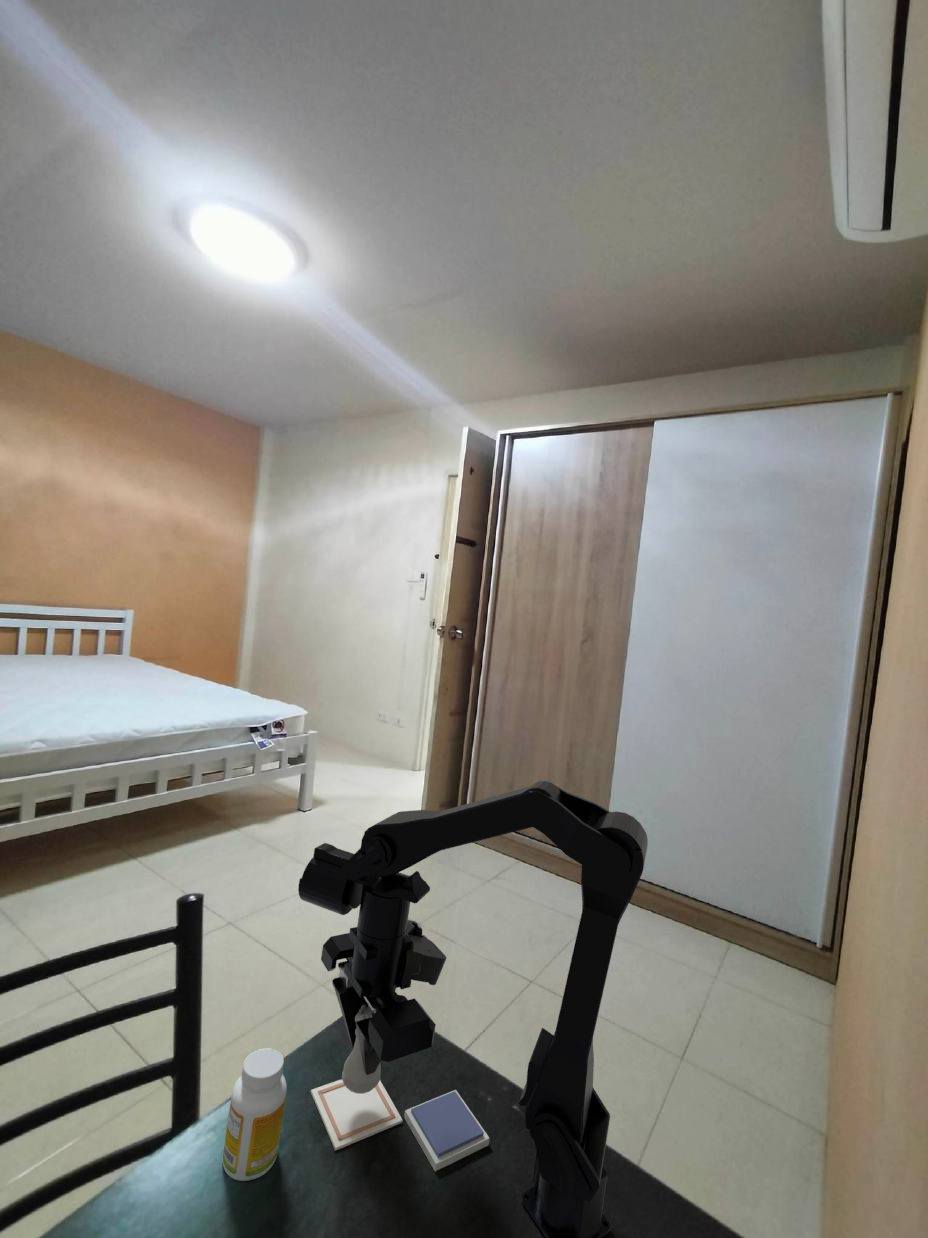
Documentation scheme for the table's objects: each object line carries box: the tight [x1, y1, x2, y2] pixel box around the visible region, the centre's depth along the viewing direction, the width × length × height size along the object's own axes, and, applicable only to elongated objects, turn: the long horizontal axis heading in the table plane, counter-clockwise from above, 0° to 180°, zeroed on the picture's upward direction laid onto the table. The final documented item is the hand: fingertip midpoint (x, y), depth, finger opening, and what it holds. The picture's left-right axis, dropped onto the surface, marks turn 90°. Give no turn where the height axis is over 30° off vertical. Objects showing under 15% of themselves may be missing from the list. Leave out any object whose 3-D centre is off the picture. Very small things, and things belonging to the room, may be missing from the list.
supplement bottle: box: [222, 1047, 288, 1182], centre depth 57 cm, size 5×5×10 cm
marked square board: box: [310, 1078, 403, 1152], centre depth 65 cm, size 8×8×1 cm
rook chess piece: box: [341, 1004, 382, 1094], centre depth 65 cm, size 4×4×8 cm
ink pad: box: [403, 1089, 490, 1172], centre depth 63 cm, size 7×7×1 cm
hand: (363, 1060), depth 65 cm, fingers closed on rook chess piece, 3 cm apart
